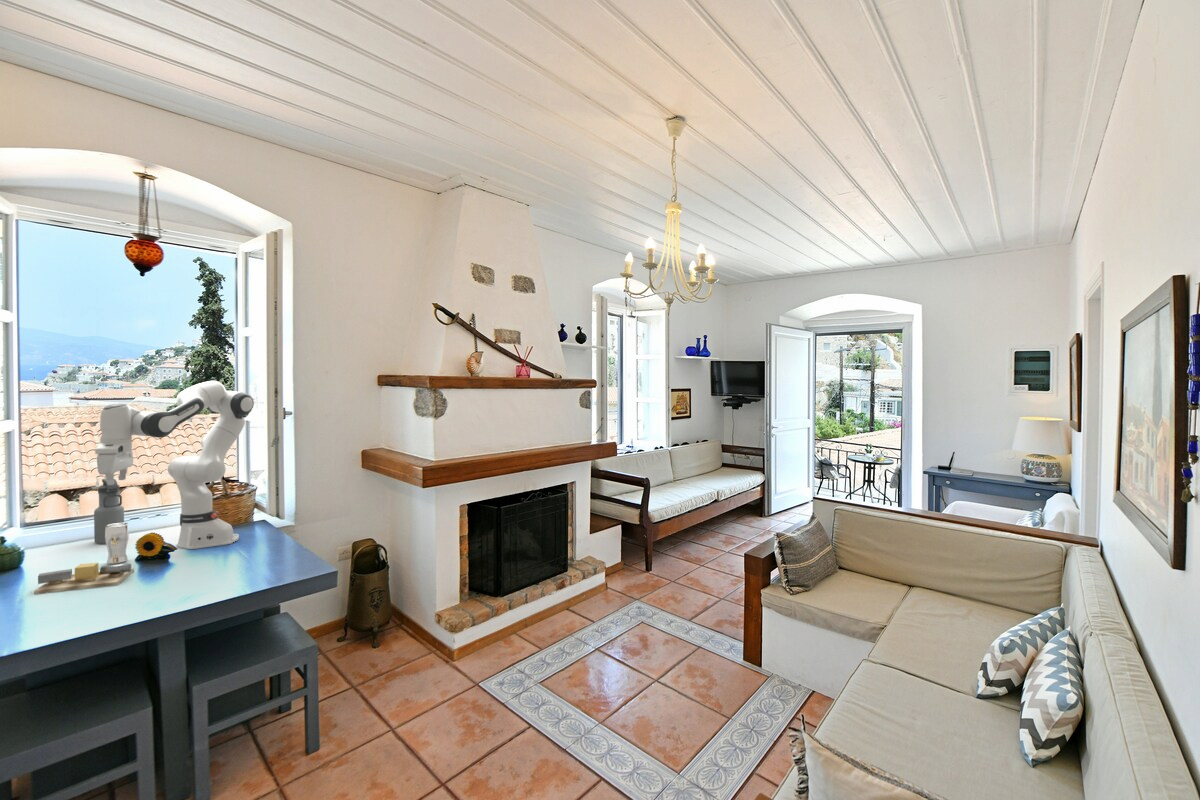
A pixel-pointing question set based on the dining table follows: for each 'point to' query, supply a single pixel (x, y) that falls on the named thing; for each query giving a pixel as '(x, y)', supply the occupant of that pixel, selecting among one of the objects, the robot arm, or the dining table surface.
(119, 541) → the beer glass
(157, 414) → the robot arm
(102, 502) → the water bottle
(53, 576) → the shafts
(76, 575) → the yellow block
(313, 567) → the dining table surface
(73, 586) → the board
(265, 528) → the dining table surface
